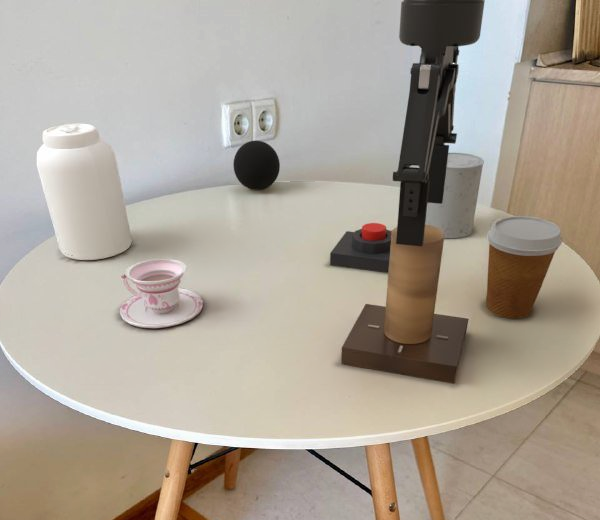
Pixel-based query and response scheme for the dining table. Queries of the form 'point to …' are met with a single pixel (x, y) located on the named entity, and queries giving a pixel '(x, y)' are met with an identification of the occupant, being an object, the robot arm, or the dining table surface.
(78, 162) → the white lidded jar
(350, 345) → the dark brown wooden base
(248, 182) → the decorative ball
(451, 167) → the gray concrete cylinder
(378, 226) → the red button
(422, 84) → the robot arm
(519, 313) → the disposable coffee cup
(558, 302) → the dining table surface
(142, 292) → the teacup
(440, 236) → the wooden cylinder
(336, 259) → the button base
